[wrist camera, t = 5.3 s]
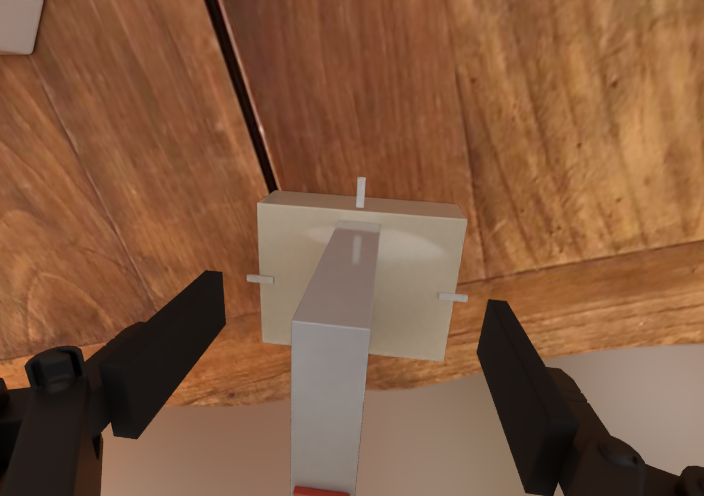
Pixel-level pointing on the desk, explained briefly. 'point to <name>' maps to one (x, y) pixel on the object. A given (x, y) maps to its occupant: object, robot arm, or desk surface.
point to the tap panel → (392, 265)
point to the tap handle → (332, 363)
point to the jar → (19, 25)
